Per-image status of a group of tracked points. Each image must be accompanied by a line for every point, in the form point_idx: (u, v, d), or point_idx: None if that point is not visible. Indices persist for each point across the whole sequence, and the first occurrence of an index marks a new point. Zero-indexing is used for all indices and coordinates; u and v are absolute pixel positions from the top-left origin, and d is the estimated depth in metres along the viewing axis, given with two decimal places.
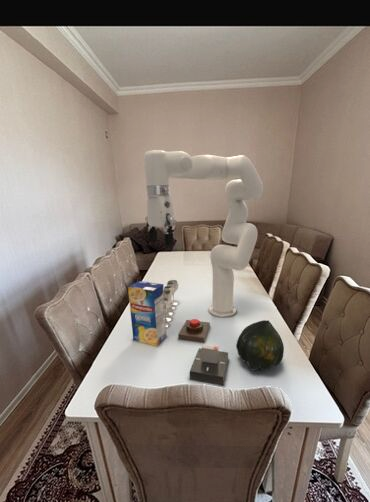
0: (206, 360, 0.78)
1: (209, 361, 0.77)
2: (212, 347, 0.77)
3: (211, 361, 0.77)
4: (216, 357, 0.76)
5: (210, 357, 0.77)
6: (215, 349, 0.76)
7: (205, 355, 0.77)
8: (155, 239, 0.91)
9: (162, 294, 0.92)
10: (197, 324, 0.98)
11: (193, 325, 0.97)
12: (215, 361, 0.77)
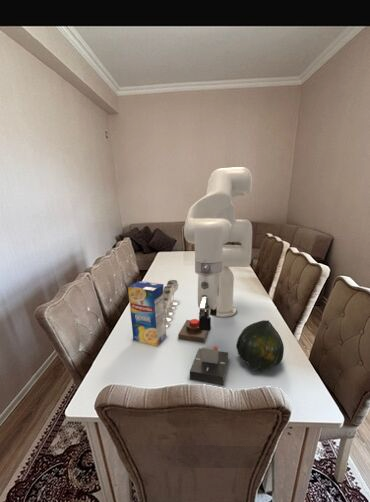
0: (206, 360, 0.78)
1: (209, 361, 0.77)
2: (212, 347, 0.77)
3: (211, 361, 0.77)
4: (216, 357, 0.76)
5: (210, 357, 0.77)
6: (215, 349, 0.76)
7: (205, 355, 0.77)
8: (213, 313, 0.78)
9: (162, 294, 0.92)
10: (197, 324, 0.98)
11: (193, 325, 0.97)
12: (215, 361, 0.77)
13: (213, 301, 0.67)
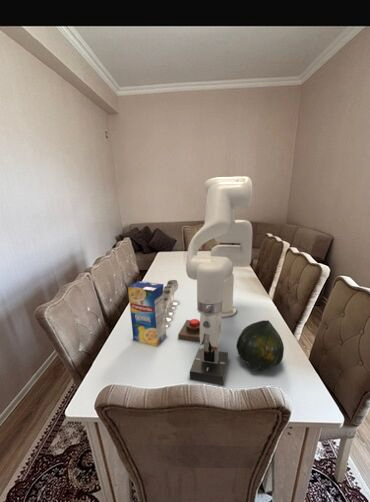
0: None
1: None
2: None
3: None
4: (216, 357, 0.76)
5: None
6: (215, 349, 0.76)
7: None
8: None
9: (162, 294, 0.92)
10: (197, 324, 0.98)
11: (193, 325, 0.97)
12: (215, 361, 0.77)
13: (214, 339, 0.70)
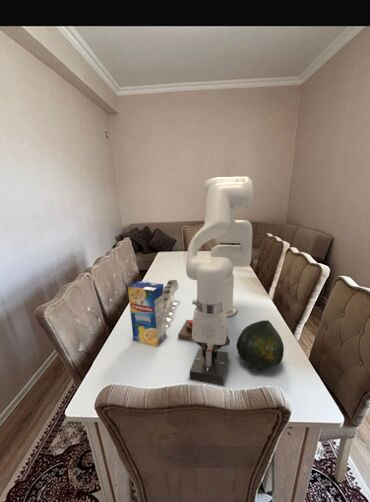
0: None
1: None
2: (209, 348, 0.76)
3: None
4: (206, 358, 0.76)
5: None
6: (206, 350, 0.75)
7: None
8: None
9: (162, 294, 0.92)
10: None
11: None
12: (206, 362, 0.77)
13: (192, 332, 0.74)
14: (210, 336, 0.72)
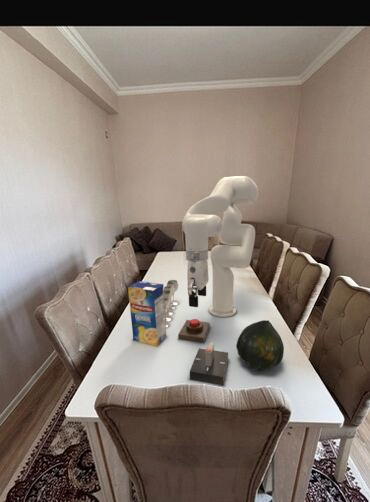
0: None
1: None
2: (209, 348, 0.76)
3: None
4: (206, 358, 0.76)
5: None
6: (206, 350, 0.75)
7: None
8: (203, 294, 0.93)
9: (162, 294, 0.92)
10: (197, 324, 0.98)
11: (193, 325, 0.97)
12: (206, 362, 0.77)
13: (199, 283, 0.82)
14: (205, 278, 0.87)
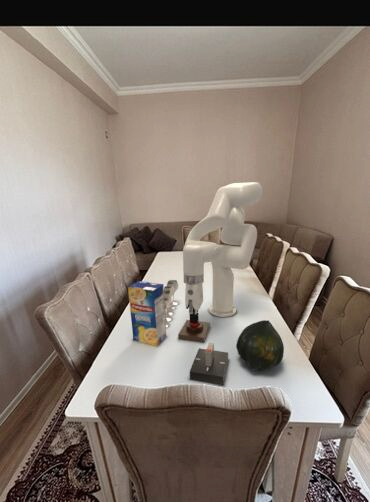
0: None
1: None
2: (209, 348, 0.76)
3: None
4: (206, 358, 0.76)
5: None
6: (206, 350, 0.75)
7: None
8: None
9: (162, 294, 0.92)
10: (197, 325, 0.98)
11: (193, 326, 0.97)
12: (206, 362, 0.77)
13: (196, 304, 0.90)
14: (201, 299, 0.95)
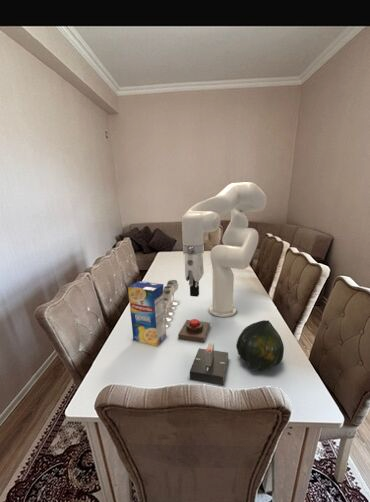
0: None
1: None
2: (209, 348, 0.76)
3: None
4: (206, 358, 0.76)
5: None
6: (206, 350, 0.75)
7: None
8: None
9: (162, 294, 0.92)
10: (197, 324, 0.98)
11: (193, 325, 0.97)
12: (206, 362, 0.77)
13: (197, 275, 0.88)
14: (201, 271, 0.92)
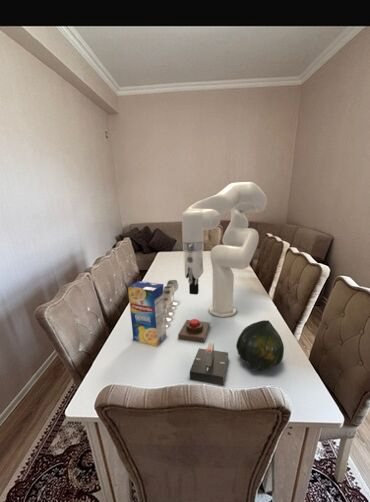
0: None
1: None
2: (209, 348, 0.76)
3: None
4: (206, 358, 0.76)
5: None
6: (206, 350, 0.75)
7: None
8: None
9: (162, 294, 0.92)
10: (197, 324, 0.98)
11: (193, 325, 0.97)
12: (206, 362, 0.77)
13: (196, 272, 0.87)
14: (201, 268, 0.92)
